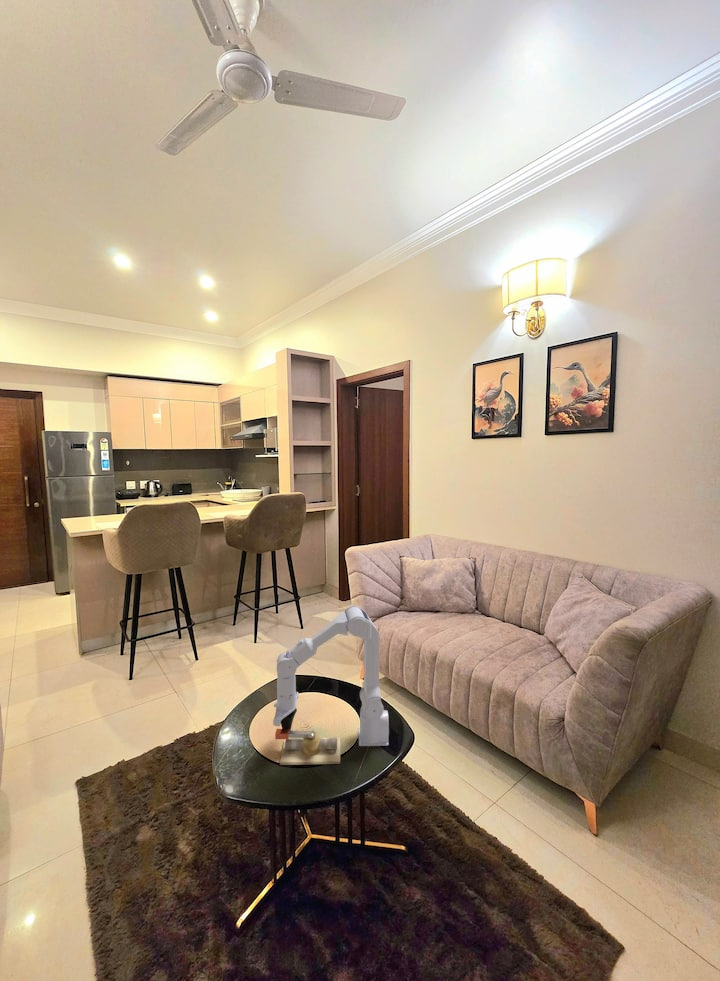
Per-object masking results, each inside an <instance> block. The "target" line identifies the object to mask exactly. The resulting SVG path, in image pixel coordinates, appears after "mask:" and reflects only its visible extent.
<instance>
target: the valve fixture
mask: <svg viewBox="0 0 720 981" xmlns="http://www.w3.org/2000/svg"><path fill="white" fill-rule="evenodd" d="M314 732H315V738H314V739H308V738H289V739H283V746H282V750H281V754H280V755H281V756H280V760H279V766H295V765H297V766H298V765H300V766H301V765H302V766H303V765H335V764H336V765H340V764H341V737H321V736H320V734H319V733H318V732H316V731H314Z"/></svg>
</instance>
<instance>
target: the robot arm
mask: <svg viewBox="0 0 720 981" xmlns="http://www.w3.org/2000/svg"><path fill="white" fill-rule="evenodd" d="M349 633H350V635H352V636H354V637H357V638H361V639H363V682H362V686H361V690H360V691H359V699H360V701H361V707H360V709H359V728H357V729H358V730H357V731H358V732H357V733H358V746H359V747H381V746H383V747H384V746H387V747H388V746H389V745H390V744H389V735H390V728H389V727H390V726H389V724H390V723H389V719H390V718H389V712H388V710H386V709H385V707H384V705H383V703H382V695H381V690H380V632H379V630H378V628H377V627H376V625H375V623H374V622H373V621H372V619H371V618H370V617H369V615H368V614H367V612H366V610H364V609H363V608H361V607H360V606H358V605H350V606H349V607H347V608H346V609H345V610H342V611H341V612H340V613H339V614H338V615H337V616H336V617H335V618H334V619H333V620H332V621H330V622H329V623H328V624H327V625H325V626H324V627H323V628H322V629H321V630H320V631H318V633H316V634H315V635H313V637H311V638H310V637H305V638H303V639H302V638H301V639H299V640H298V642H297V644H296V645H295V646H293V647H291V648H290V649H287V650H285V651H283V652H281V653H280V654H279V655H278V656H277V659H276V672H277V678H276V696H277V697H276V699H277V700H276V701H275V702H274V704H273V707H274V708H275V712H274V713H275V714H274V718H273V720H272V722H273V723H272V724H273V726H275V727H280V726H281V729H290V731H292V725H293V722H294V718H295V716H296V713H297V710H298V709H297V703H298V699H299V692H298V691H297V690H296V689H297V686H296V684H297V683H296V681H297V680H296V678H297V677H296V673H297V670H298V668H299V667H300V666H302V665H303V664H304V663H306V662H307V661H308V660H309V659H311V658H312V657H314V656H315V655H317V649H318V648H319V647H321V646H322V645H324V644H325V643H327V642H328V641H330V640H331V639H332V638H334V637H336V636H337V635H343V636H346V637H347V636H349Z"/></svg>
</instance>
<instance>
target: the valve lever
mask: <svg viewBox="0 0 720 981" xmlns="http://www.w3.org/2000/svg"><path fill="white" fill-rule="evenodd" d="M315 732H316V731H314V730H291V731H290V729H282V728H276V731H275V735H274V737H275V740H284V739H289V738H308V739H314V738H315Z"/></svg>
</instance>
